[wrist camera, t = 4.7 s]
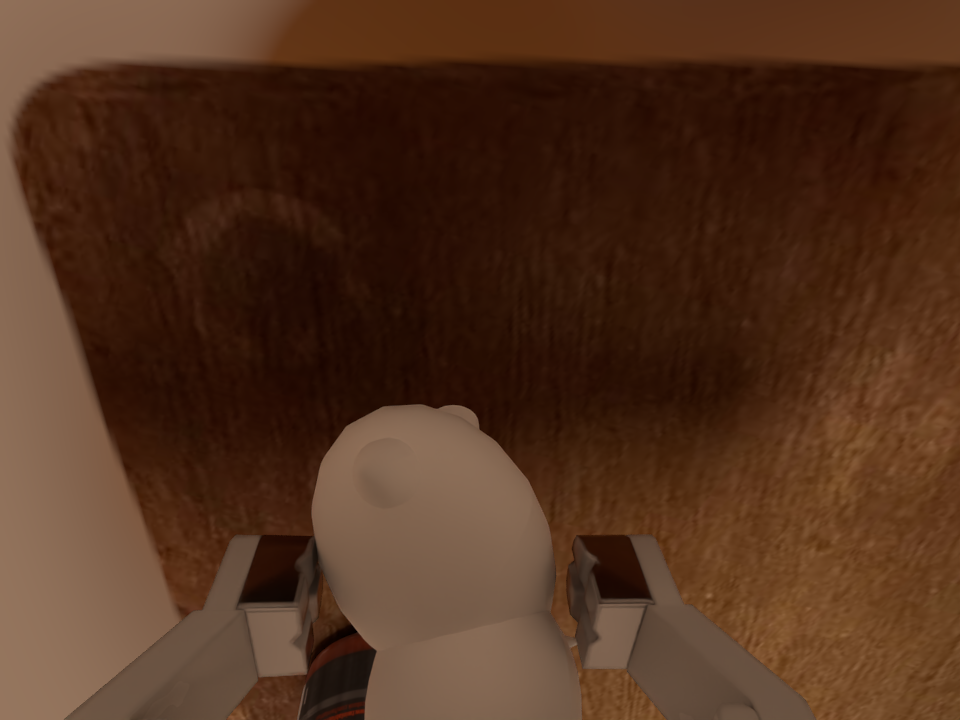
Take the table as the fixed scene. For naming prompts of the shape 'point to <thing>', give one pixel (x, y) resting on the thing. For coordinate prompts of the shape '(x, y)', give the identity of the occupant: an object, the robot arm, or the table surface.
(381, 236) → the table surface
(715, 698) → the robot arm
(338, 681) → the supplement bottle
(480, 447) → the toy creature
